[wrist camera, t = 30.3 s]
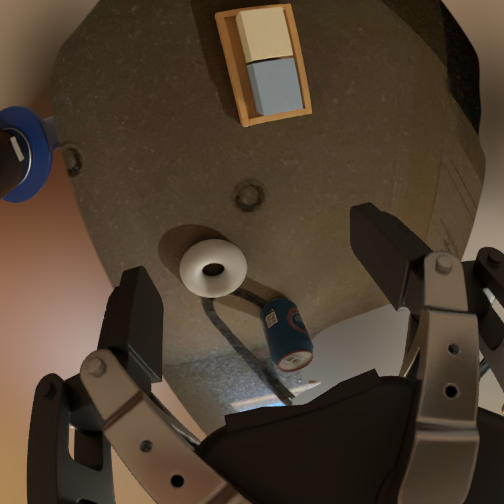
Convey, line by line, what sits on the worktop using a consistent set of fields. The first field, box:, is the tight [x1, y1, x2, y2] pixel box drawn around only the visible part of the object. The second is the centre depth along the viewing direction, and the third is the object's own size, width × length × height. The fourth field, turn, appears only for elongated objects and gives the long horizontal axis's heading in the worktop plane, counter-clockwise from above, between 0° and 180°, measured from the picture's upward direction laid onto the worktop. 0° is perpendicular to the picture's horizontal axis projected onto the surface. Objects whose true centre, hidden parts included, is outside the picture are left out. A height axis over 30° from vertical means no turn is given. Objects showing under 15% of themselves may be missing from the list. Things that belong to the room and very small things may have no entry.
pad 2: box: [246, 58, 303, 116], centre depth 27 cm, size 4×6×4 cm
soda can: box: [260, 298, 313, 372], centre depth 46 cm, size 7×7×12 cm
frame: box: [215, 4, 312, 127], centre depth 27 cm, size 9×15×2 cm, turn 11°
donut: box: [179, 239, 247, 298], centre depth 41 cm, size 10×4×10 cm
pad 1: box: [235, 7, 293, 63], centre depth 23 cm, size 4×6×4 cm
